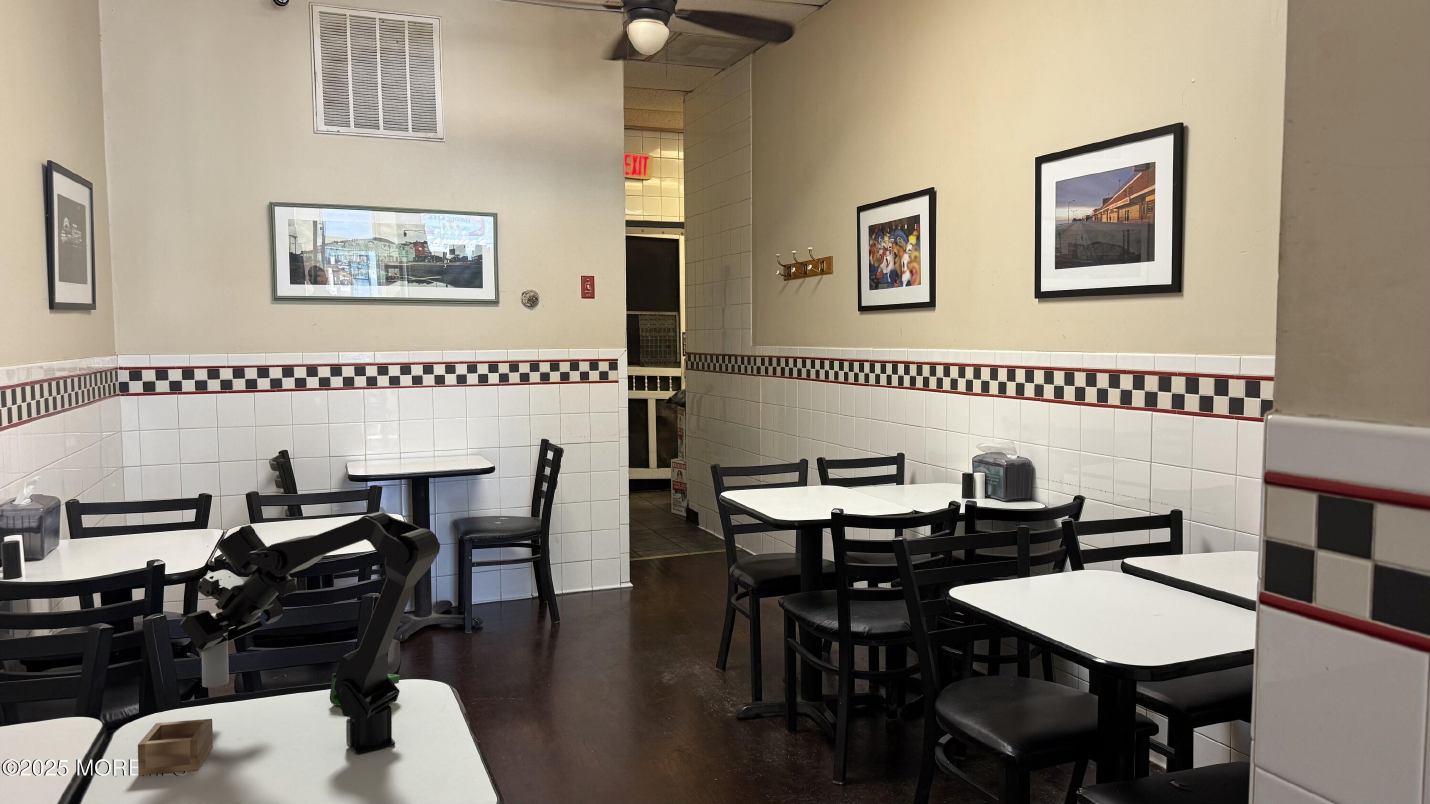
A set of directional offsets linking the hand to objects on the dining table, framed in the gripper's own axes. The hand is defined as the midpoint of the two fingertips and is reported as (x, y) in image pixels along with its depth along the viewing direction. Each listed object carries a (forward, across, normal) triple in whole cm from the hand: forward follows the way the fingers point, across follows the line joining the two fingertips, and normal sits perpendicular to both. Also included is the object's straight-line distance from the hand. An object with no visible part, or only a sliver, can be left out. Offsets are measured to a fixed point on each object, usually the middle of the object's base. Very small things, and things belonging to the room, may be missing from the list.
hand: (208, 646), depth 166 cm
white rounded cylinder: (+4, 0, +6) cm, 7 cm away
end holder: (+4, +15, +15) cm, 22 cm away
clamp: (-5, -16, +25) cm, 30 cm away
